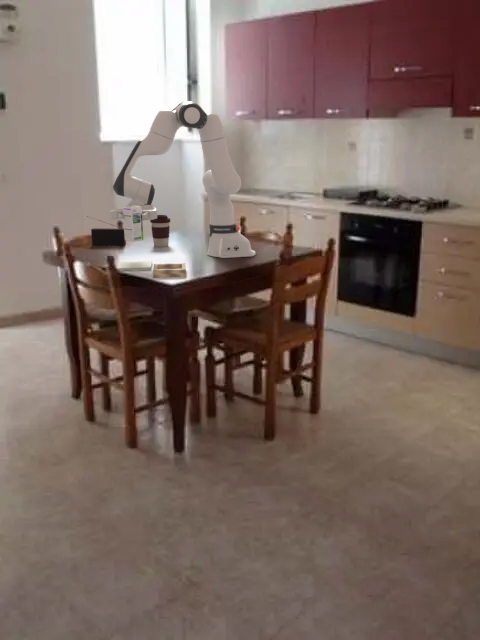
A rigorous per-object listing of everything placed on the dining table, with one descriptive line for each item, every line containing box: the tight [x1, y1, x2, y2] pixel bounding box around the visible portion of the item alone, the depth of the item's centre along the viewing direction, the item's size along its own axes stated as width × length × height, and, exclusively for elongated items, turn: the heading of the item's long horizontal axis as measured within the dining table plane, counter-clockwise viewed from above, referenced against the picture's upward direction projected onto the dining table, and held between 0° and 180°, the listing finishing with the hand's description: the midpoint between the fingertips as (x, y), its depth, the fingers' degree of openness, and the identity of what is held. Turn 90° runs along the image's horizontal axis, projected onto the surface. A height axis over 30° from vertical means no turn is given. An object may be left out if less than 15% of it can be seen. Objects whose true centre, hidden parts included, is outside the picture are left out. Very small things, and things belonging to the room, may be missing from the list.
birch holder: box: [152, 262, 187, 278], centre depth 299 cm, size 13×13×3 cm
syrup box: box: [122, 205, 144, 243], centre depth 307 cm, size 6×6×14 cm
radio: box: [86, 215, 127, 247], centre depth 363 cm, size 19×3×15 cm, turn 84°
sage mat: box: [116, 260, 153, 272], centre depth 312 cm, size 14×14×1 cm
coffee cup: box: [149, 214, 171, 248], centre depth 361 cm, size 10×10×15 cm
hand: (132, 216), depth 306 cm, fingers closed on syrup box, 8 cm apart
